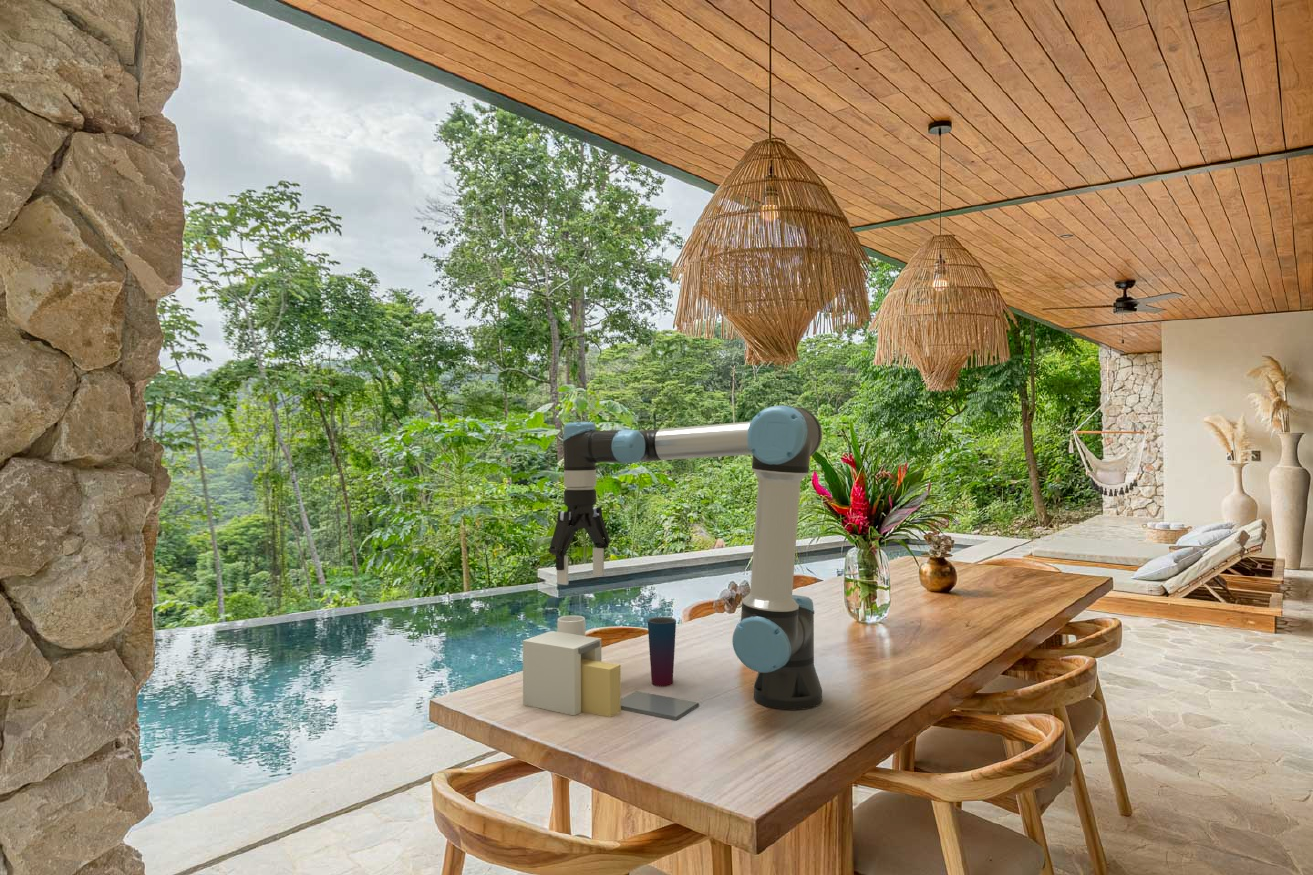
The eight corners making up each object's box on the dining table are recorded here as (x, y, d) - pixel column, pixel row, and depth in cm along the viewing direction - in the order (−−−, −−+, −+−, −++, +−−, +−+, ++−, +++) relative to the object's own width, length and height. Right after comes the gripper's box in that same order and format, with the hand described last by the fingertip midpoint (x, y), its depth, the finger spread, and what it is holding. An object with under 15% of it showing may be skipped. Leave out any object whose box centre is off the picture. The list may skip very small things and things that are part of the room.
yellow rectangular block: (620, 711, 166) (620, 664, 166) (610, 717, 163) (609, 669, 163) (568, 700, 173) (567, 655, 173) (556, 706, 170) (556, 660, 170)
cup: (681, 680, 187) (680, 618, 187) (669, 689, 181) (669, 624, 181) (655, 677, 190) (654, 615, 190) (643, 685, 184) (642, 621, 184)
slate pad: (698, 706, 169) (698, 702, 169) (676, 720, 160) (676, 716, 160) (636, 694, 177) (636, 690, 177) (611, 707, 169) (611, 703, 169)
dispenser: (603, 702, 172) (603, 638, 172) (576, 715, 163) (576, 649, 164) (551, 691, 180) (551, 630, 180) (523, 704, 171) (522, 640, 171)
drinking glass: (581, 685, 184) (580, 622, 184) (553, 684, 185) (553, 620, 185) (589, 677, 190) (588, 615, 190) (562, 675, 192) (562, 614, 192)
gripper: (598, 485, 194) (599, 570, 194) (532, 491, 173) (533, 586, 173) (623, 485, 190) (624, 572, 190) (558, 492, 169) (559, 589, 169)
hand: (581, 579), depth 182 cm, fingers open, 13 cm apart
